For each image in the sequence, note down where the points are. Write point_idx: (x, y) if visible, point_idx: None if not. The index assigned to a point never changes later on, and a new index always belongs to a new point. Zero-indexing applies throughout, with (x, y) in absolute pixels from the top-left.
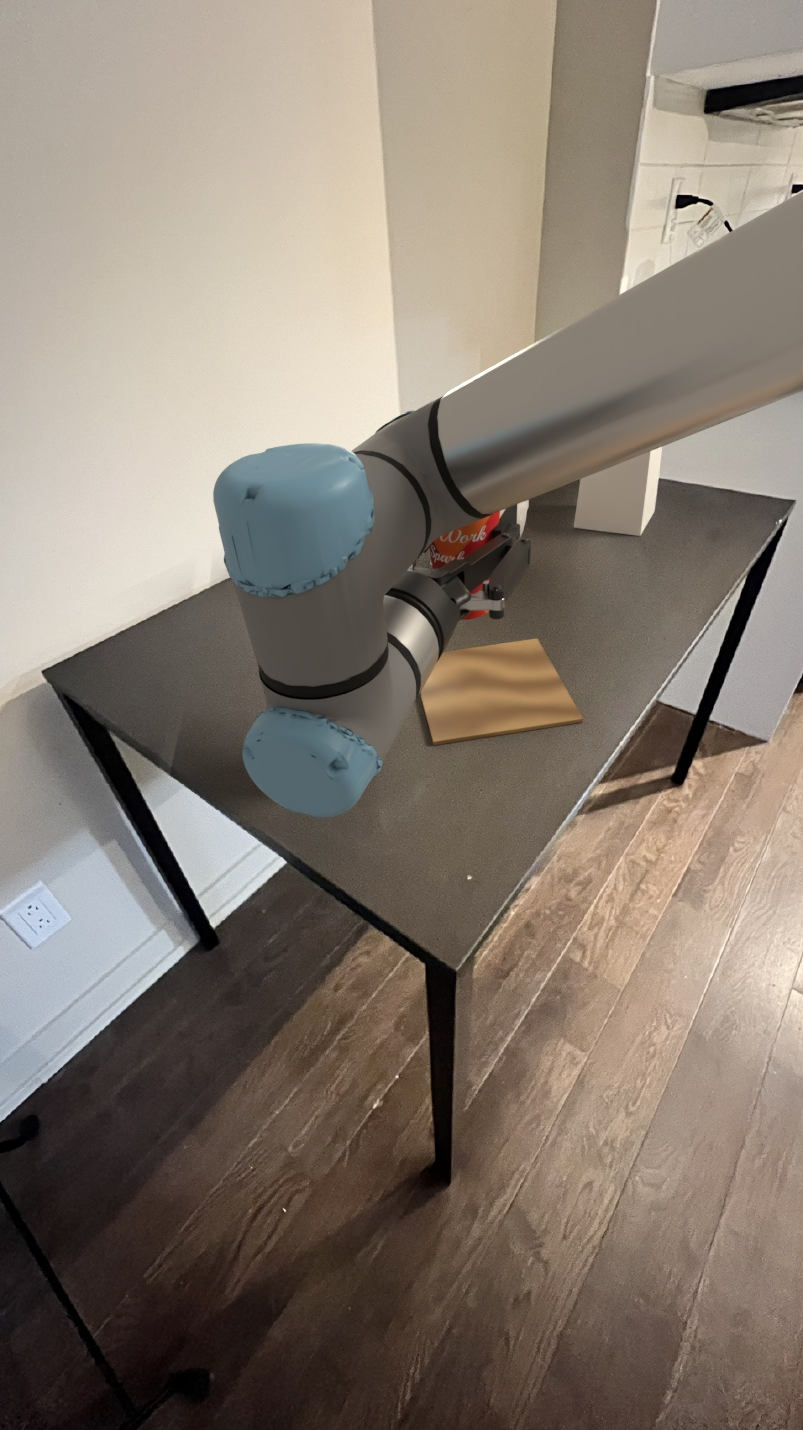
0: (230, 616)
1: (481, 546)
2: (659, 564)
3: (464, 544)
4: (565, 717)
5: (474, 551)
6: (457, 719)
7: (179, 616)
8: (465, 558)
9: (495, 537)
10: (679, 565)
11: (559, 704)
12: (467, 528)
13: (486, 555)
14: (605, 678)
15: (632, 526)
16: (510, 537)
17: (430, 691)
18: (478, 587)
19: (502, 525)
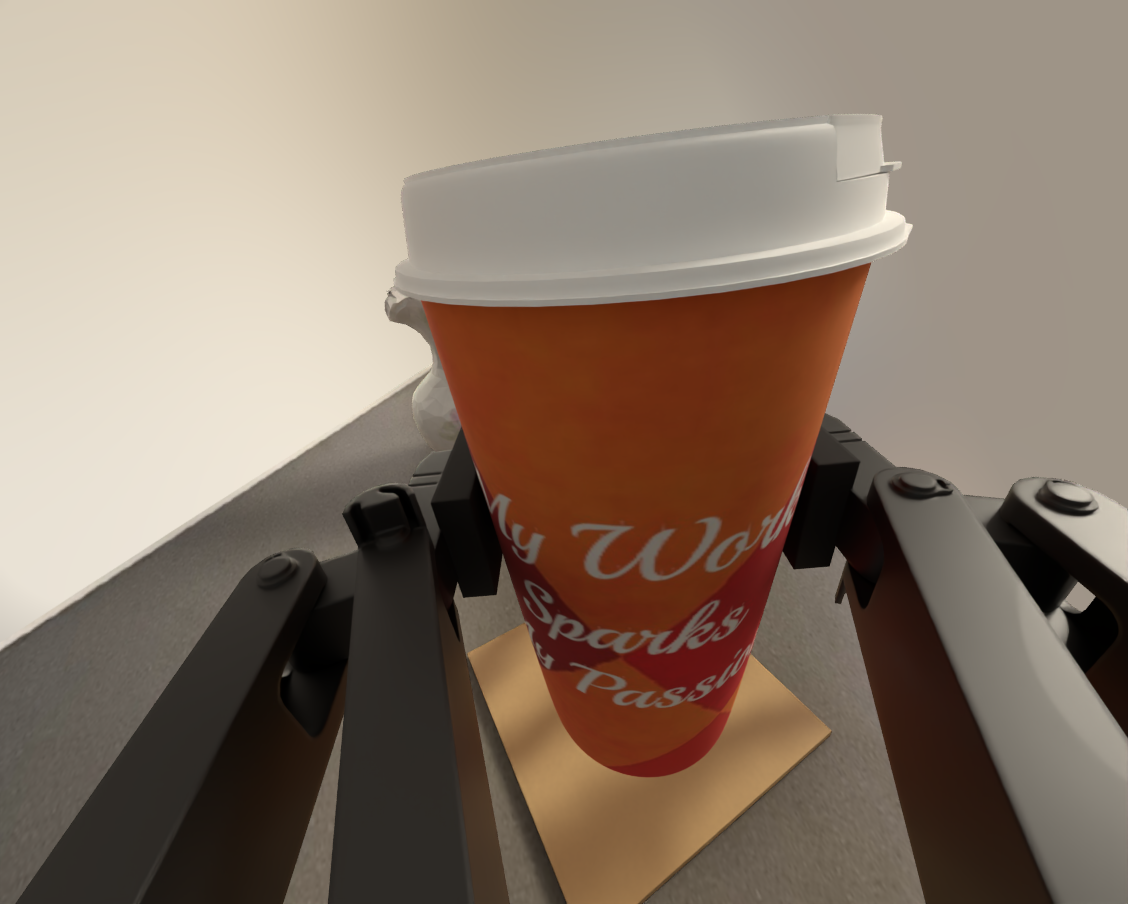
0: (128, 637)
1: (778, 549)
2: None
3: (724, 573)
4: (801, 738)
5: (966, 700)
6: (609, 824)
7: (19, 663)
8: (1069, 895)
9: (888, 509)
10: None
11: (768, 703)
12: (756, 499)
13: (1120, 738)
14: (786, 608)
15: None
16: (956, 492)
17: (526, 743)
18: (739, 678)
19: (821, 432)
